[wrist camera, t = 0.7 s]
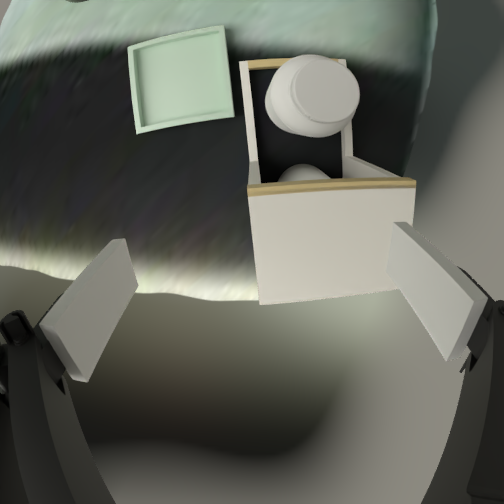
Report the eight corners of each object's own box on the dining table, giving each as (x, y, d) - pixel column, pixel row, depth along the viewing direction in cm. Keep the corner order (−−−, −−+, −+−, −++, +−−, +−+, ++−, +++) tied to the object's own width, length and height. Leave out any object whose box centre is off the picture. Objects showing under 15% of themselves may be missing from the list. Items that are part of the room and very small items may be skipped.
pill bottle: (334, 85, 30) (385, 67, 16) (317, 141, 33) (358, 156, 20) (274, 65, 29) (289, 29, 16) (257, 123, 32) (260, 123, 19)
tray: (132, 49, 27) (127, 46, 26) (225, 28, 27) (223, 24, 25) (141, 133, 33) (136, 133, 31) (234, 116, 32) (233, 116, 30)
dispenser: (239, 64, 29) (228, 17, 14) (342, 61, 28) (405, 27, 13) (257, 229, 39) (259, 305, 23) (349, 221, 38) (402, 288, 23)
